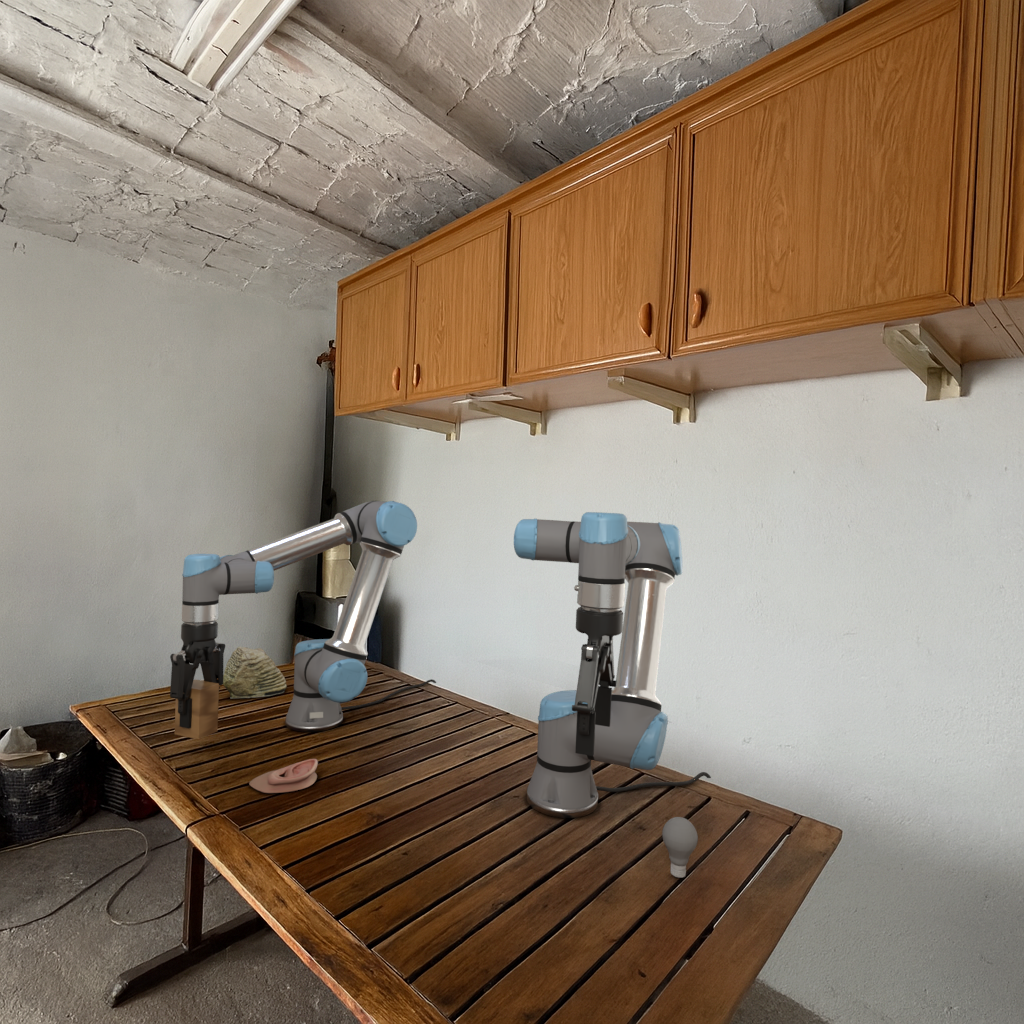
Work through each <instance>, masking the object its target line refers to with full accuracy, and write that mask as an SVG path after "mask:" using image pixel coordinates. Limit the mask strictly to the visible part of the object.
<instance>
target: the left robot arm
mask: <svg viewBox="0 0 1024 1024" xmlns="http://www.w3.org/2000/svg"><path fill="white" fill-rule="evenodd" d="M417 532H418V520H417V516H416V515H415V513H414V511H413V510H412V508H411V507H410V506H408V505H406V504H405V503H402V502H398V501H394V500H389V501H385V500H370V501H366V502H363V503H360V504H357V505H356V506H353V507H351V508H348V509H346V510H343V511H340V512H338V513H336V514H335V515H334V517H333V518H331V519H329V520H326V521H323V522H320V523H318V524H315V525H312V526H310V527H307V528H304V529H302V530H299V531H296V532H293V533H290V534H288V535H285V536H282V537H279V538H277V539H274V540H272V541H268V542H266V543H263V544H260V545H258V546H255V547H252V548H249V549H247V550H244V551H241V552H237V553H236V554H226V555H222V556H220V555H219V554H216V553H192V554H188V555H187V556H186V557H185V558H184V560H183V569H182V573H181V574H182V575H181V576H182V597H181V598H182V600H181V601H182V603H181V621H182V624H181V625H180V639H181V640H182V647H181V650H180V651H179V652H176V653H170V655H169V658H170V662H171V673H170V687H169V688H170V690H169V697H170V698H171V699H175V700H176V699H178V713H179V714H180V724H179V727H184V728H188V729H189V728H191V723H192V699H191V698H189V696H190V692H191V688H192V684H193V680H195V677H196V673H197V672H196V671H197V670H198V668H199V667H200V668H201V673H202V678H203V681H207V682H213V683H218V684H219V690H221V686H223V677H224V676H223V675H224V653H225V649H226V643H221V642H217V641H216V639H217V638H218V634H219V633H218V632H219V631H218V630H219V623H218V621H217V620H219V604H220V602H219V601H220V599H219V598H220V596H222V595H223V596H225V595H242V594H255V595H256V594H257V595H258V594H260V593H267V592H270V591H271V590H272V589H273V586H274V583H275V571H277V570H279V569H282V568H285V567H287V566H290V565H293V564H295V563H298V562H300V561H303V560H305V559H308V558H310V557H313V556H315V555H318V554H321V553H323V552H326V551H328V550H331V549H333V548H336V547H338V546H341V545H346V546H352V545H354V544H356V543H359V545H360V547H361V553H360V557H359V560H358V563H357V565H356V569H355V571H354V574H353V577H352V580H351V583H350V586H349V588H348V592H347V595H346V598H345V600H344V604H343V607H342V610H341V611H340V612H341V613H340V615H339V619H338V621H337V624H336V626H335V630H334V633H333V635H332V637H330V638H323V639H322V638H319V639H307V640H303V641H299V642H297V644H296V645H295V650H294V653H293V654H294V655H293V656H294V672H293V695H292V696H293V697H292V699H291V702H290V704H289V708H288V711H287V713H286V715H285V726H286V728H287V729H289V730H291V731H294V732H295V731H296V732H301V733H316V732H325V731H329V730H332V729H335V728H337V727H339V726H340V725H342V723H343V722H344V714H343V711H344V710H353V709H354V710H355V709H360V708H364V707H368V706H372V705H376V704H379V703H381V702H383V701H386V700H387V699H389V698H391V697H393V696H395V695H397V694H398V693H401V692H404V691H408V690H410V689H415V688H418V687H423V686H425V685H428V684H430V683H433V684H437V681H436V680H435V679H431V678H430V679H428V680H426V681H424V682H422V683H417V684H413V685H409V686H406V687H403V688H400V689H398V690H396V691H394V692H391V693H389V694H387V695H386V696H384V697H381V698H380V699H377V700H375V701H371V702H367V703H362V704H356V705H351V706H341V704H342V703H347V702H351V701H352V700H354V699H356V698H357V697H359V695H360V694H361V693H362V692H363V691H364V689H365V687H366V685H367V682H368V671H367V668H366V665H365V664H366V661H367V659H368V655H369V653H368V651H367V649H366V643H367V640H368V637H369V634H370V631H371V628H372V625H373V622H374V619H375V616H376V613H377V610H378V607H379V604H380V601H381V598H382V595H383V592H384V590H385V586H386V583H387V580H388V577H389V574H390V571H391V569H392V566H393V562H394V561H395V560H396V559H398V558H400V557H401V556H402V553H403V551H404V547H405V546H406V545H408V544H410V543H411V542H412V541H413V540H414V539H415V537H416V534H417ZM183 692H184V694H183Z"/></svg>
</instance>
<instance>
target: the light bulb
mask: <svg viewBox="0 0 1024 1024" xmlns="http://www.w3.org/2000/svg"><path fill="white" fill-rule="evenodd" d="M661 833H662V834H661V835H662V841H663V843H664V845H665V847H666V850H667V852H668V858H669V861H670V874H671V875H672V876H673V877H675V878H678V879H679V878H680V879H681V878H685V877H686V875H687V864H688V863H689V860H690V857H691V855H692V854H693V852H694V851H695V850H696V847H697V845H698V841H699V837H698V831H697V829H696V827H695V825H694V824H693V823H692V822H691V821H690V820H689V819H687V818H685V817H682V816H674V817H672V818H670V819H669V820H667V821H666V823H665V824H664V826H663V828H662V831H661Z"/></svg>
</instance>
